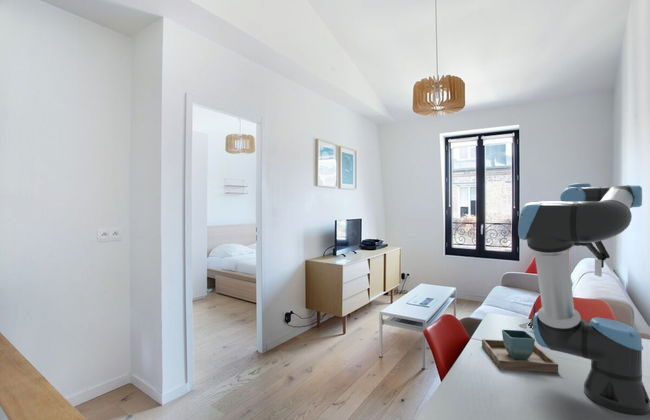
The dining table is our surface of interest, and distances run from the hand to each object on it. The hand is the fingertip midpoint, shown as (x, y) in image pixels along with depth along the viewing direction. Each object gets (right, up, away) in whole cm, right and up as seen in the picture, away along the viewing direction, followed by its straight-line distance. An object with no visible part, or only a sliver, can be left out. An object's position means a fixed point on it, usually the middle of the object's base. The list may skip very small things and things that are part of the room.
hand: (579, 275), depth 130 cm
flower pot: (-26, -31, -3) cm, 41 cm away
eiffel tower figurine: (+1, -32, +31) cm, 45 cm away
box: (-27, -32, -3) cm, 42 cm away
